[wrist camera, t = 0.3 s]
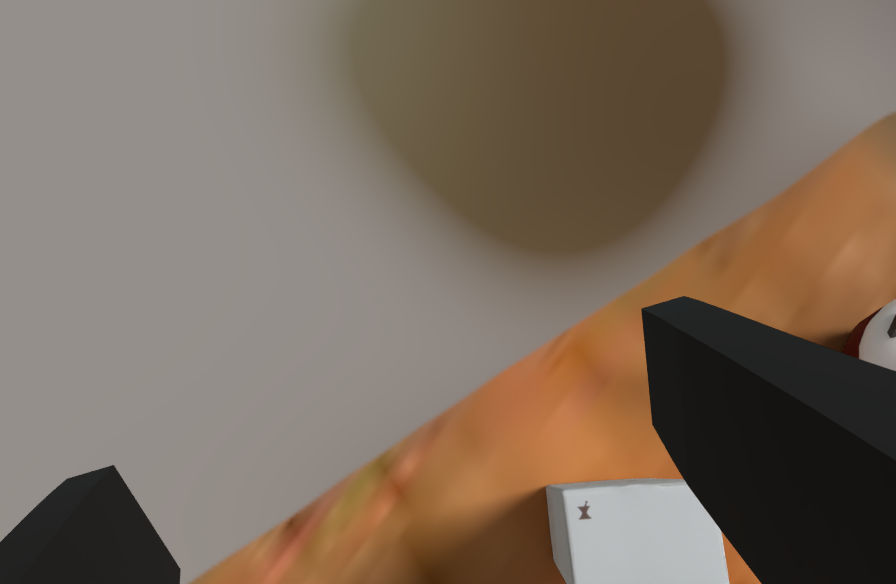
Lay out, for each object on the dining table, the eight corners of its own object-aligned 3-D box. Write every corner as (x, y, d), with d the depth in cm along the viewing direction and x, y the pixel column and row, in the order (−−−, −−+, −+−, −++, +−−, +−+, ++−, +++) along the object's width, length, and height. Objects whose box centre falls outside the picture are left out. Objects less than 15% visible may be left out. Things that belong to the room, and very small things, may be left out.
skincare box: (552, 564, 36) (570, 604, 24) (544, 484, 37) (557, 486, 25) (663, 557, 35) (735, 595, 24) (651, 476, 36) (713, 476, 25)
